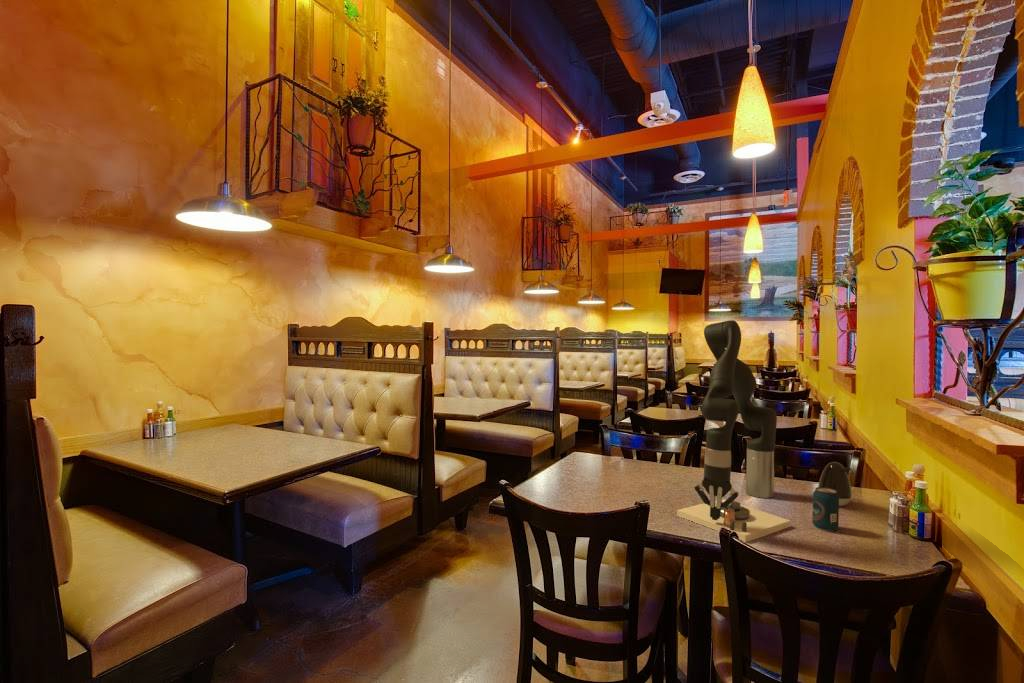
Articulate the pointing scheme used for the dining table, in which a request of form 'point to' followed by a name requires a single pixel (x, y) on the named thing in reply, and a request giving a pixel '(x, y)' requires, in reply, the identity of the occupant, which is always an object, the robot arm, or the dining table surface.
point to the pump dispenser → (837, 481)
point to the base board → (737, 521)
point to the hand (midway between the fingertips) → (715, 519)
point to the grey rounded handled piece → (734, 512)
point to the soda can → (825, 509)
